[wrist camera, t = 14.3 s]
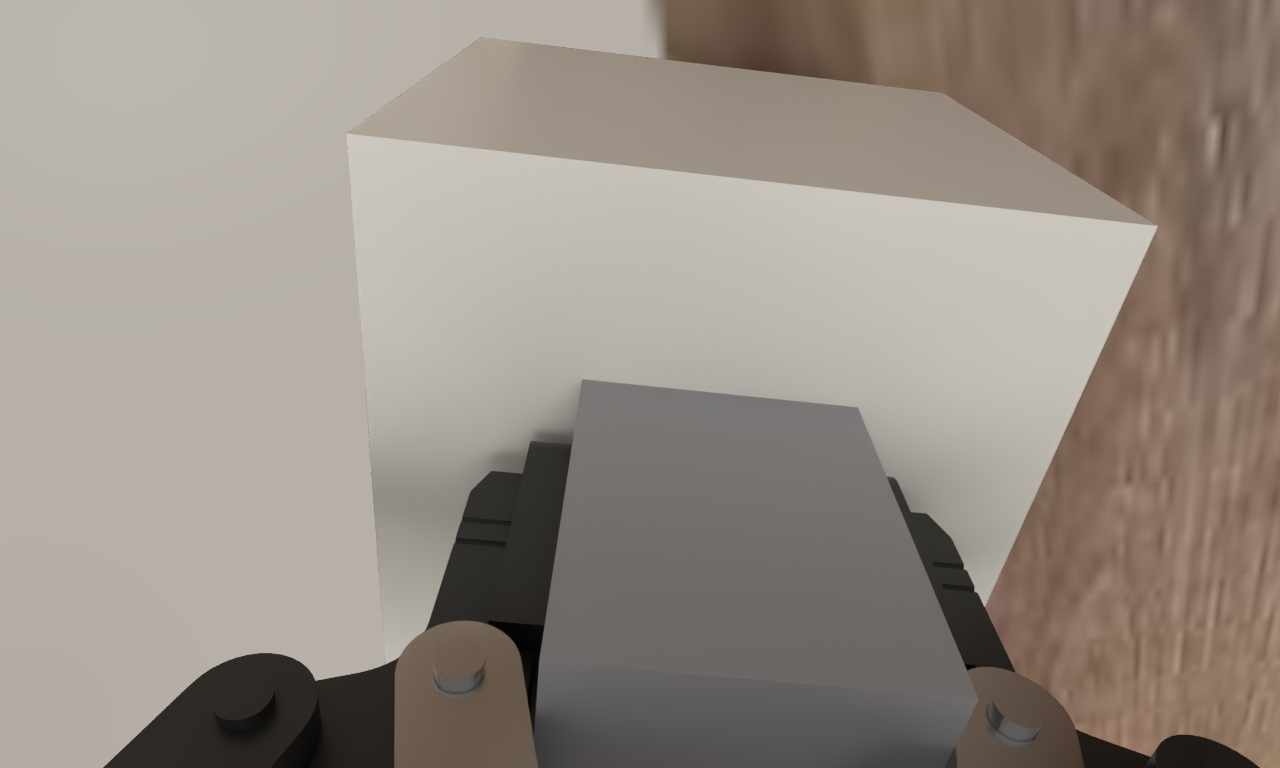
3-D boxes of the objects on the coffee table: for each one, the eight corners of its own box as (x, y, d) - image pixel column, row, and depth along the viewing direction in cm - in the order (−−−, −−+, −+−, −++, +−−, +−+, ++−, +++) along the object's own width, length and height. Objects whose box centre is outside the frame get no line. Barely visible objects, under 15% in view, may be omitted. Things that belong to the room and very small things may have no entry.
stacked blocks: (941, 92, 18) (1529, 456, 6) (835, 464, 23) (1032, 1059, 11) (480, 37, 17) (102, 307, 5) (477, 428, 22) (279, 1009, 11)
